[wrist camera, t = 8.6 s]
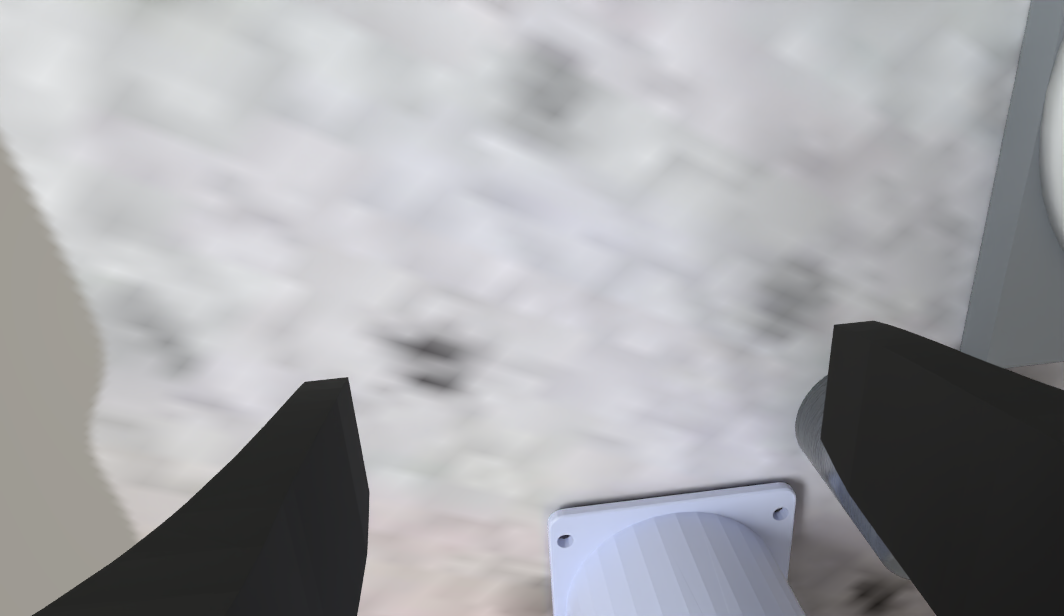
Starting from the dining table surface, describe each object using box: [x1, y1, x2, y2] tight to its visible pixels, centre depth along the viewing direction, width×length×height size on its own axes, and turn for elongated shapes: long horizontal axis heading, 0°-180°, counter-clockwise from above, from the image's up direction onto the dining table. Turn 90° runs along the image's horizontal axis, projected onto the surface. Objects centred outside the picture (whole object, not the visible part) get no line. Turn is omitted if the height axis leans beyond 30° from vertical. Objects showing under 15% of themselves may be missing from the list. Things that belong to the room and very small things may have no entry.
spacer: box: [795, 375, 910, 580], centre depth 23 cm, size 4×4×5 cm
